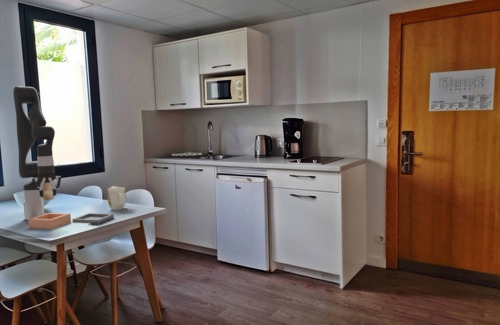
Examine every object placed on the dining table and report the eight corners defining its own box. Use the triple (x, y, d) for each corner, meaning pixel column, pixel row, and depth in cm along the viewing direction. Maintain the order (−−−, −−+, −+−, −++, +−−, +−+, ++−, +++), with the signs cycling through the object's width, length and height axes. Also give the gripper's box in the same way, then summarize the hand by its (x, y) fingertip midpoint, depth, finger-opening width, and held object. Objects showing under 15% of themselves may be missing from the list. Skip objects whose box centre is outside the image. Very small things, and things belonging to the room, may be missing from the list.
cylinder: (40, 199, 196) (39, 182, 195) (47, 197, 201) (46, 181, 200) (48, 200, 195) (47, 183, 194) (55, 198, 199) (54, 181, 198)
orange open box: (29, 229, 194) (28, 219, 193) (49, 222, 208) (48, 212, 207) (51, 230, 191) (51, 220, 190) (71, 223, 204) (70, 213, 204)
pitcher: (113, 213, 226) (111, 190, 225) (105, 208, 241) (103, 187, 239) (131, 210, 232) (130, 188, 231) (122, 205, 247) (121, 185, 246)
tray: (72, 223, 204) (72, 219, 204) (89, 217, 217) (89, 213, 217) (98, 224, 200) (98, 220, 200) (113, 218, 214) (113, 213, 213)
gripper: (29, 166, 189) (32, 199, 191) (61, 164, 196) (63, 196, 198) (29, 164, 195) (32, 197, 197) (60, 162, 202) (62, 193, 204)
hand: (48, 196), depth 198 cm, fingers closed on cylinder, 5 cm apart
